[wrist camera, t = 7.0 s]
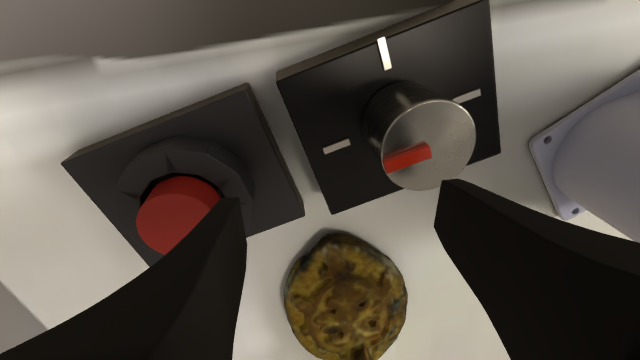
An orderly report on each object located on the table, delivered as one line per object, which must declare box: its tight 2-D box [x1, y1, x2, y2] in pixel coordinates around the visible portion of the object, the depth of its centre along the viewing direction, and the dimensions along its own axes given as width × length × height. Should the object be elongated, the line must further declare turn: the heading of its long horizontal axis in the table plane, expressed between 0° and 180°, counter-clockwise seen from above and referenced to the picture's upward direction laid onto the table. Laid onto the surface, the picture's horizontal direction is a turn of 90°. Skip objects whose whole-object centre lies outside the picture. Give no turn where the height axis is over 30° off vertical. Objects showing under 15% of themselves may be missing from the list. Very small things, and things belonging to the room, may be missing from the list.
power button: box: [136, 176, 221, 255], centre depth 16 cm, size 4×4×2 cm
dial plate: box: [276, 0, 501, 215], centre depth 17 cm, size 10×8×3 cm
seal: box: [284, 234, 408, 360], centre depth 24 cm, size 9×5×15 cm
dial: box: [361, 81, 476, 191], centre depth 15 cm, size 4×4×4 cm
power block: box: [61, 83, 305, 267], centre depth 18 cm, size 10×8×4 cm
